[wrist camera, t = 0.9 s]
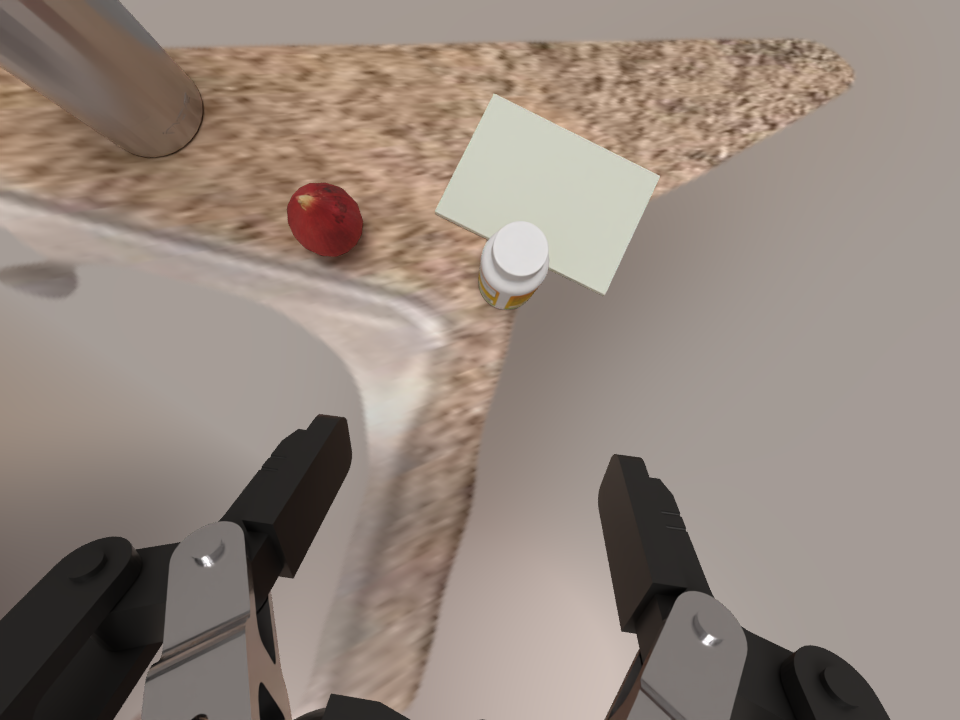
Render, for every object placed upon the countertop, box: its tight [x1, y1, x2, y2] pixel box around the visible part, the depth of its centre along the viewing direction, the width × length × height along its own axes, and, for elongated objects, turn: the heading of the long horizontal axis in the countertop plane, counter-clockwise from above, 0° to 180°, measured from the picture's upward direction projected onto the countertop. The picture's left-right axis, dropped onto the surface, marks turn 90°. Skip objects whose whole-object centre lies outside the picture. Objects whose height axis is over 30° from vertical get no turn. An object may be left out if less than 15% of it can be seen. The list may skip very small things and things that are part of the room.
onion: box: [287, 183, 363, 257], centre depth 31 cm, size 6×6×8 cm
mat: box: [435, 94, 660, 296], centre depth 36 cm, size 18×13×1 cm
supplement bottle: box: [478, 221, 549, 310], centre depth 31 cm, size 5×5×10 cm
